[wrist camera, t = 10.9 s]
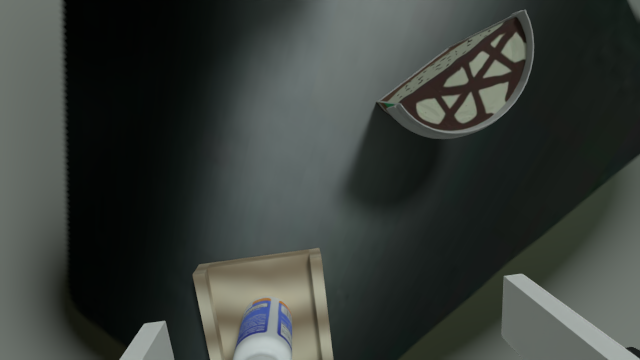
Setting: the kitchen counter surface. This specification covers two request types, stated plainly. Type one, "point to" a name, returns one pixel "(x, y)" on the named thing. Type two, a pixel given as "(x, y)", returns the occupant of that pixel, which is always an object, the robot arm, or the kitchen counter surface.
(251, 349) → the pill bottle
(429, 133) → the food container
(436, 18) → the kitchen counter surface
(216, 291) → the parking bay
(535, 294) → the robot arm
